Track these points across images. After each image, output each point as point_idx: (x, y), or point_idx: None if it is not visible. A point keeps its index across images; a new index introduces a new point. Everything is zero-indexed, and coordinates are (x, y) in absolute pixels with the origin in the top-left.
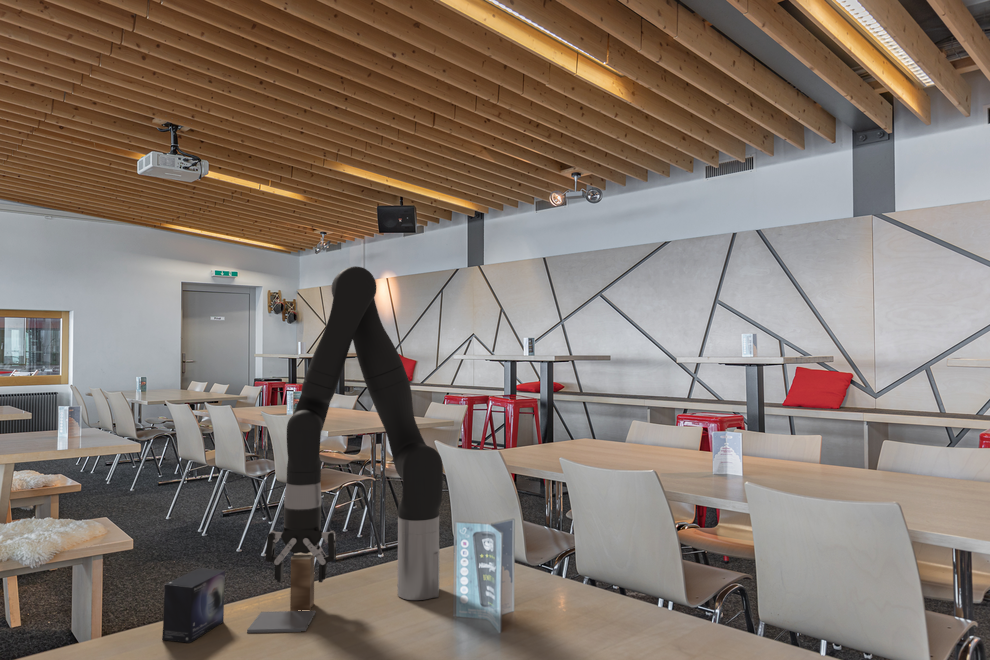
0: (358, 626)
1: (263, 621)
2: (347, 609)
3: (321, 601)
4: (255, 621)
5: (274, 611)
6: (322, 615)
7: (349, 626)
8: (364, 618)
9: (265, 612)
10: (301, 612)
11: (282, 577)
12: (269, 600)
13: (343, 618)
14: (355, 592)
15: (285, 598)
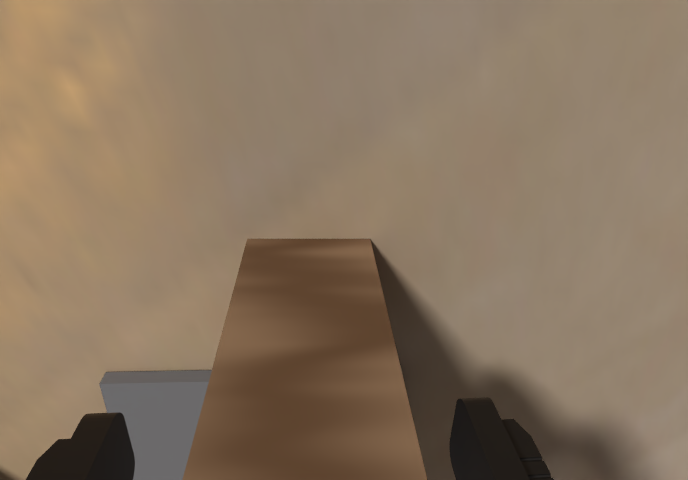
0: (597, 476)
1: (174, 476)
2: (569, 321)
3: (413, 197)
4: (134, 476)
5: (176, 383)
6: (439, 383)
7: (561, 476)
8: (636, 414)
9: (129, 393)
10: None
11: (114, 448)
12: (25, 156)
13: (541, 413)
14: (663, 25)
15: (132, 122)
